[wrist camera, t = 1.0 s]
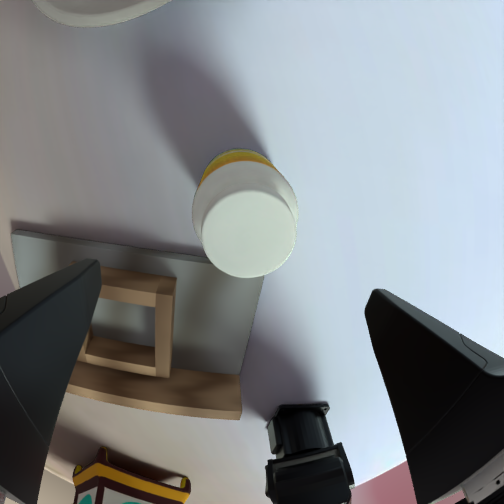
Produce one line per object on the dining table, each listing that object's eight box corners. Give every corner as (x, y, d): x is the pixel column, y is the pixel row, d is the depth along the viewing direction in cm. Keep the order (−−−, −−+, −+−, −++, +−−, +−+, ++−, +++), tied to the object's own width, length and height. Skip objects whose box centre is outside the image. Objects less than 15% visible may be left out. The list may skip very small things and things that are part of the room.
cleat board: (263, 265, 24) (273, 306, 19) (235, 381, 30) (238, 424, 25) (16, 229, 21) (-19, 257, 16) (41, 346, 26) (22, 381, 22)
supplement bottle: (287, 205, 22) (326, 269, 14) (218, 230, 23) (215, 308, 14) (262, 135, 20) (291, 154, 11) (189, 163, 20) (162, 203, 12)
